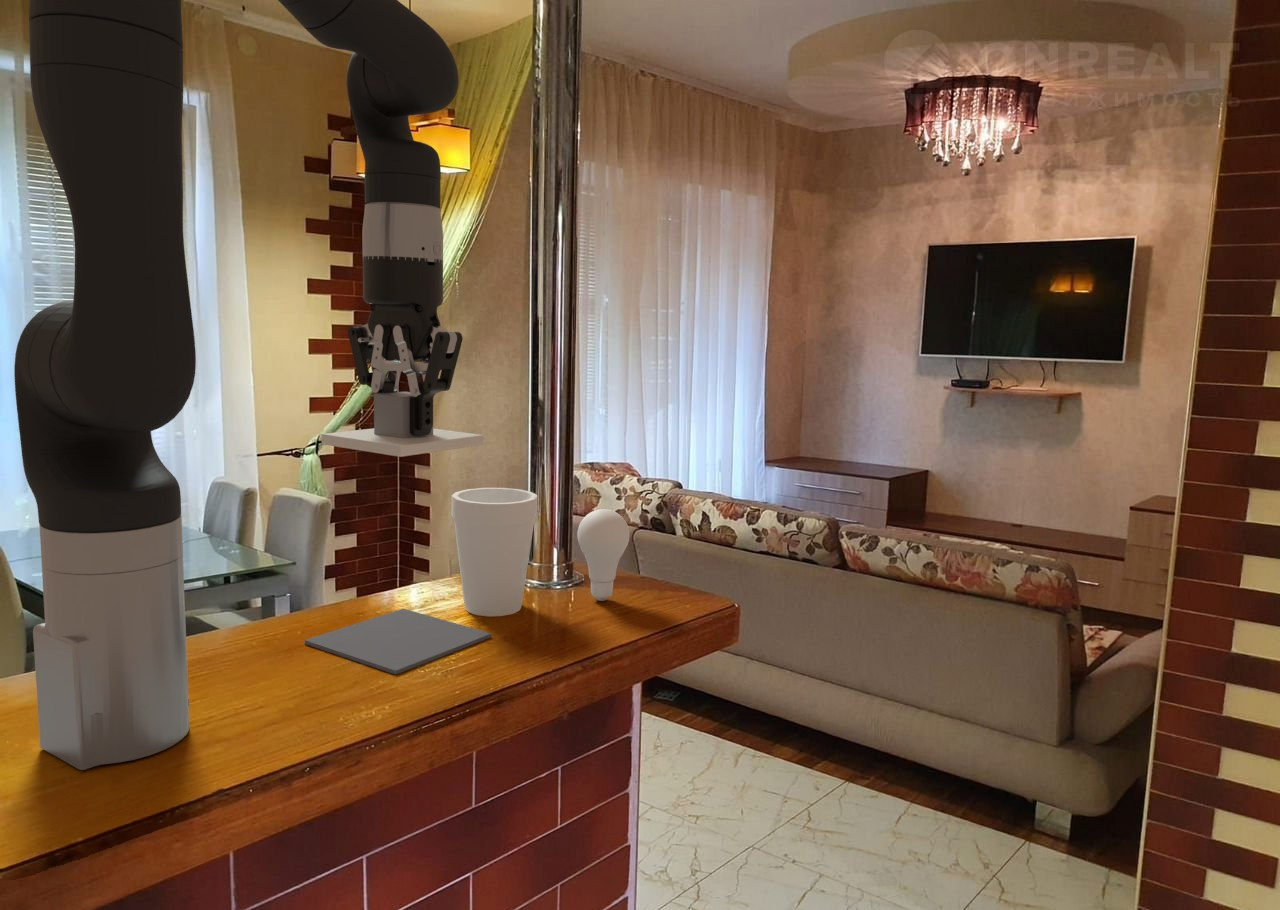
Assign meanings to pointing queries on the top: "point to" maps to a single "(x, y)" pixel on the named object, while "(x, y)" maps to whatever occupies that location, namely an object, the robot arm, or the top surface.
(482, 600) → the foam cup
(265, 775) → the top surface
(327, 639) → the mat
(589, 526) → the lightbulb
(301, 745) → the top surface
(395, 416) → the cover
